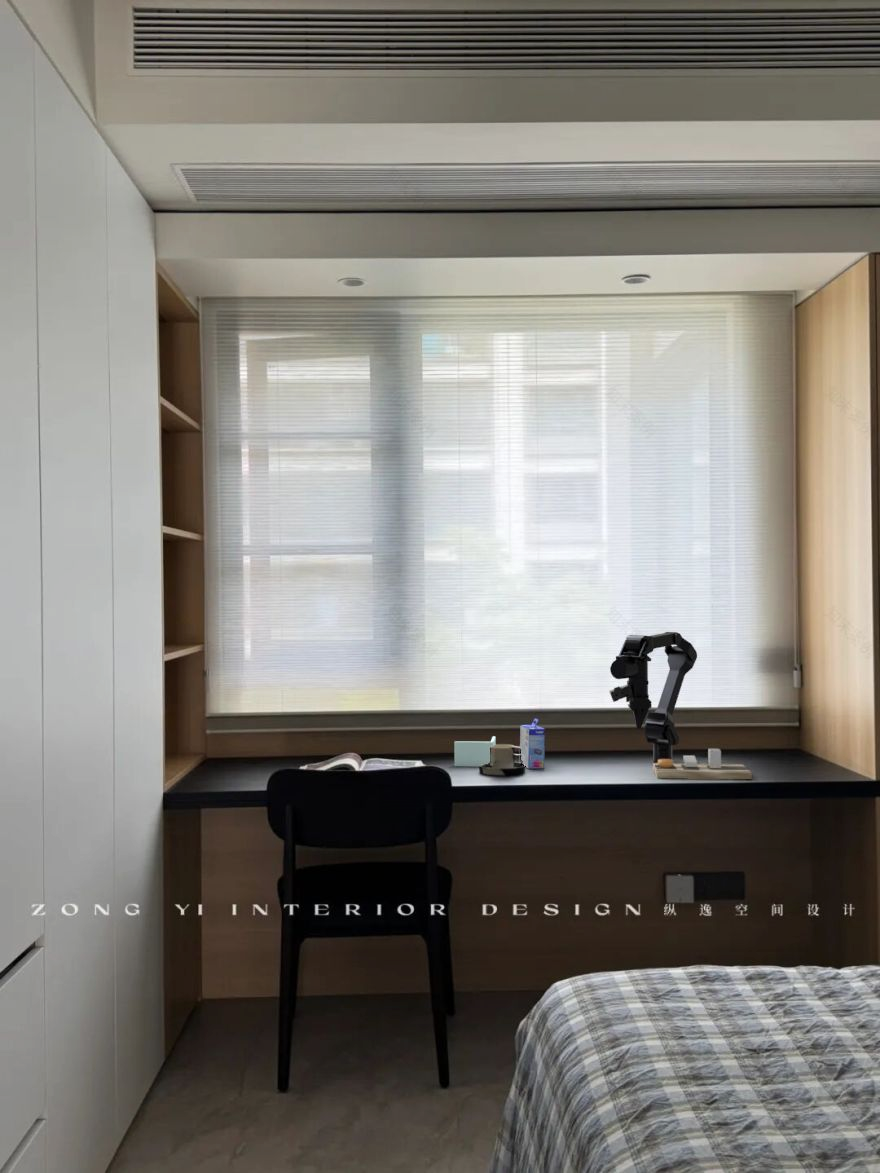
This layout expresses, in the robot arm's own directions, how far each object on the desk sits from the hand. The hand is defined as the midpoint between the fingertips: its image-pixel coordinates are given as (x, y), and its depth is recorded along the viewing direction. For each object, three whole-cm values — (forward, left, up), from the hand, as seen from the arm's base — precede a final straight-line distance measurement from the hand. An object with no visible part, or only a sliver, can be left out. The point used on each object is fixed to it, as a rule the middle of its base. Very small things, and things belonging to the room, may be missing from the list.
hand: (638, 728), depth 292 cm
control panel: (+8, +17, -12) cm, 22 cm away
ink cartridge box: (-2, -32, -12) cm, 34 cm away
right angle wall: (-7, -50, -12) cm, 52 cm away
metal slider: (+8, +21, -10) cm, 24 cm away
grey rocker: (+8, +14, -9) cm, 18 cm away
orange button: (+8, +7, -10) cm, 14 cm away
